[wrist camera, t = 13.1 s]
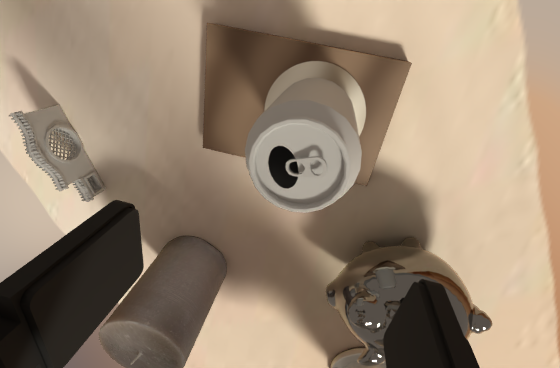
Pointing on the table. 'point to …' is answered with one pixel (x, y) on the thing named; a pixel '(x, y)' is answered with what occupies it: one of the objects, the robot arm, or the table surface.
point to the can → (305, 147)
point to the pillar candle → (166, 307)
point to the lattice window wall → (39, 150)
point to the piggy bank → (394, 293)
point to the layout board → (282, 74)
